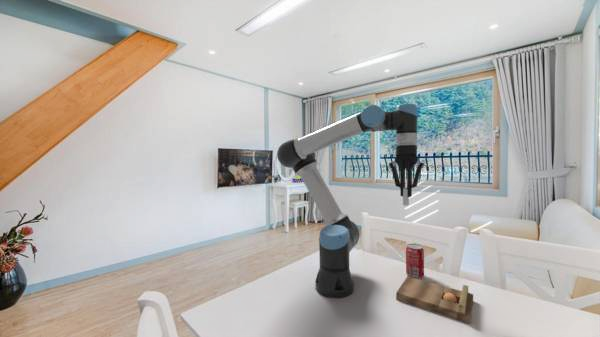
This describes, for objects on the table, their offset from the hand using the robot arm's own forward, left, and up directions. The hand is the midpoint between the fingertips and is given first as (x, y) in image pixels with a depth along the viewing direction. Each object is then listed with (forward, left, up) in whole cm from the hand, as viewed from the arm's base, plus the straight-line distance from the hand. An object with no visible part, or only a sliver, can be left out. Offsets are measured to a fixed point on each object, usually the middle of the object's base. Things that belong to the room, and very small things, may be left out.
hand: (405, 204), depth 97 cm
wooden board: (+11, -5, -32) cm, 35 cm away
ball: (+16, -5, -30) cm, 35 cm away
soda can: (+1, +11, -33) cm, 34 cm away
